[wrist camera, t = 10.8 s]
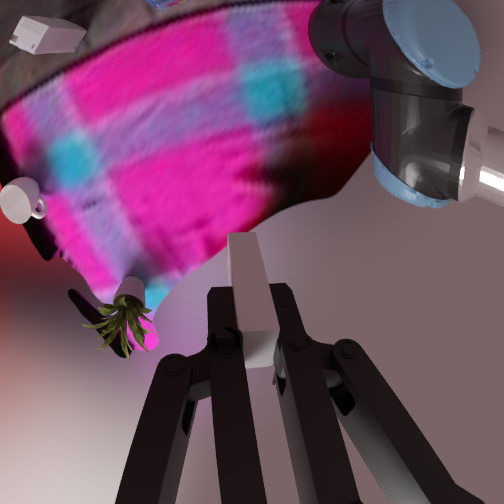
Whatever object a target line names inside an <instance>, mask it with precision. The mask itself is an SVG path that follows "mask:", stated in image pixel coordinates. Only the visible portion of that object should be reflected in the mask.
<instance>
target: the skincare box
mask: <svg viewBox="0 0 504 504" xmlns="http://www.w3.org/2000/svg"><path fill="white" fill-rule="evenodd" d="M86 33H87V30H86V29H84V28H82V27H81V26H79V25H77V24H74V23H72V22H70V21H67V20H64V19H57V18H48V17H38V16H22V18H21V20H20V22H19V23H18V25H17V27H16V29H15V31H14V33H13V35H12V37H11V39H10V41H9V42H10V43H11V44H14V45H16V46H18V47H19V48H20V49H23V50H26V51H28V52H30V53H32V54H44V53H59V52H74V51H75V50H76V48H77V47H78V45H79V44H80V42H81V40H82V39H83V37H84V36H85V34H86Z"/></svg>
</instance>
